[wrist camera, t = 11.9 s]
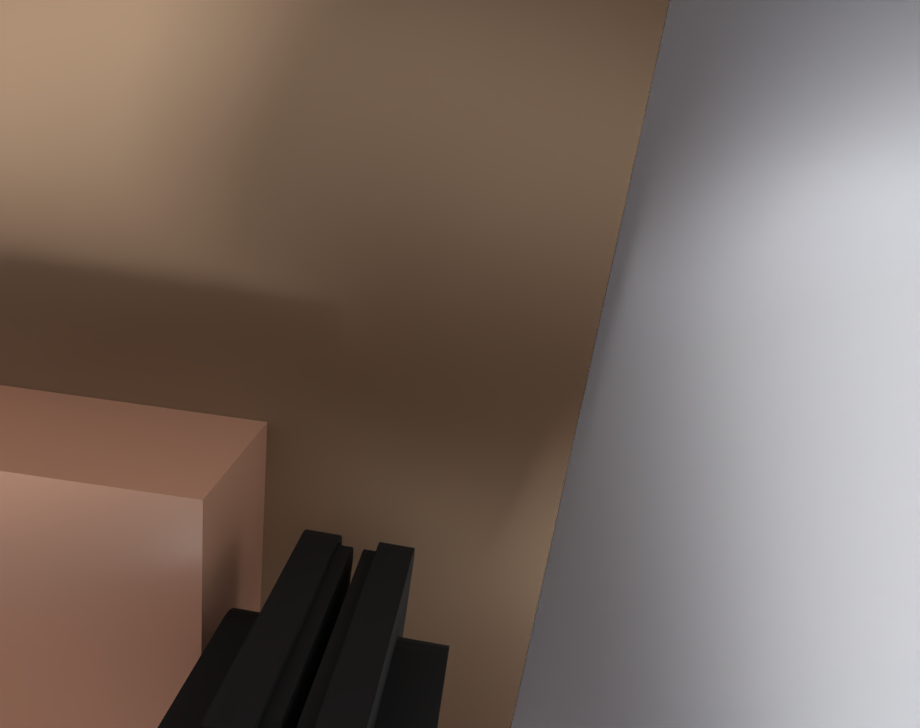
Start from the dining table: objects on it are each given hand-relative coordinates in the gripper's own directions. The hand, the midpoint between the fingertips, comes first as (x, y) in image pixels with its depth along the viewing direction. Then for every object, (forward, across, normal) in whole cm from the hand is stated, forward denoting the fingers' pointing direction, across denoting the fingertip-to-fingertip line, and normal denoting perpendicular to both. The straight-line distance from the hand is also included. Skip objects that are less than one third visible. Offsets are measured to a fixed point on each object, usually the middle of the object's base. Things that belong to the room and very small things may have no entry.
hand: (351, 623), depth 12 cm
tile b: (+1, +4, 0) cm, 4 cm away
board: (+4, +2, -4) cm, 6 cm away
